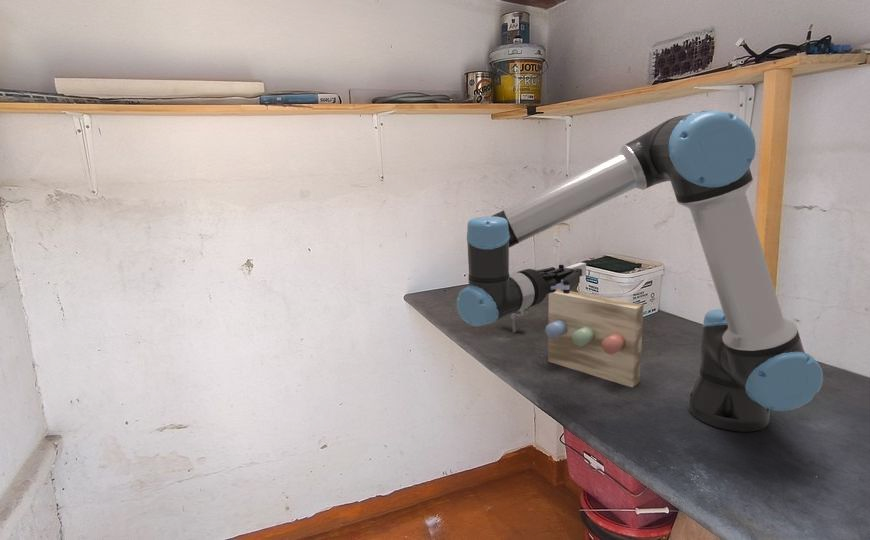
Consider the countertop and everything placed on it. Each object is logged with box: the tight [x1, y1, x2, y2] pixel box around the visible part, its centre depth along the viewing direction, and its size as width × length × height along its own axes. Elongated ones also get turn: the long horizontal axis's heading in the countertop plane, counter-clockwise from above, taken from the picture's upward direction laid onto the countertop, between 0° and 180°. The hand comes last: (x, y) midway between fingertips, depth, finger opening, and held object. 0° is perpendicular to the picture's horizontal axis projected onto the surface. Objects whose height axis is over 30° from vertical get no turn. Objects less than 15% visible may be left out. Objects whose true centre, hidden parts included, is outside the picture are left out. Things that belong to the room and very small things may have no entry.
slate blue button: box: [544, 320, 567, 339], centre depth 132 cm, size 4×4×4 cm
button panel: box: [547, 289, 644, 388], centre depth 129 cm, size 4×24×20 cm, turn 43°
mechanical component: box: [510, 307, 530, 333], centre depth 162 cm, size 3×10×10 cm, turn 41°
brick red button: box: [602, 334, 625, 354], centre depth 121 cm, size 4×4×4 cm
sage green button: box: [572, 326, 595, 346], centre depth 126 cm, size 4×4×4 cm
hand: (583, 268), depth 116 cm, fingers closed
